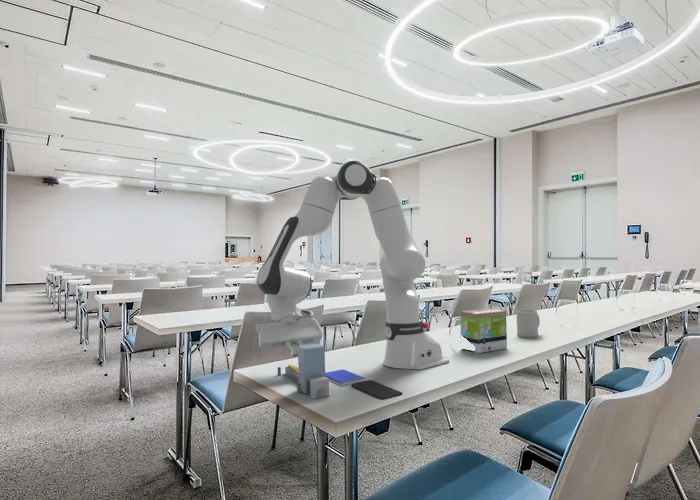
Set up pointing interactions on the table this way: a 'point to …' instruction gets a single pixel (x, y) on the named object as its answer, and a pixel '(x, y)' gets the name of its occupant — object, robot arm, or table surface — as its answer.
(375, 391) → the phone
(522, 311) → the mug
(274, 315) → the robot arm
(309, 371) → the pale blue block
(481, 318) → the tea box
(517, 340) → the table surface
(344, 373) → the hard drive
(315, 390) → the cord rail
